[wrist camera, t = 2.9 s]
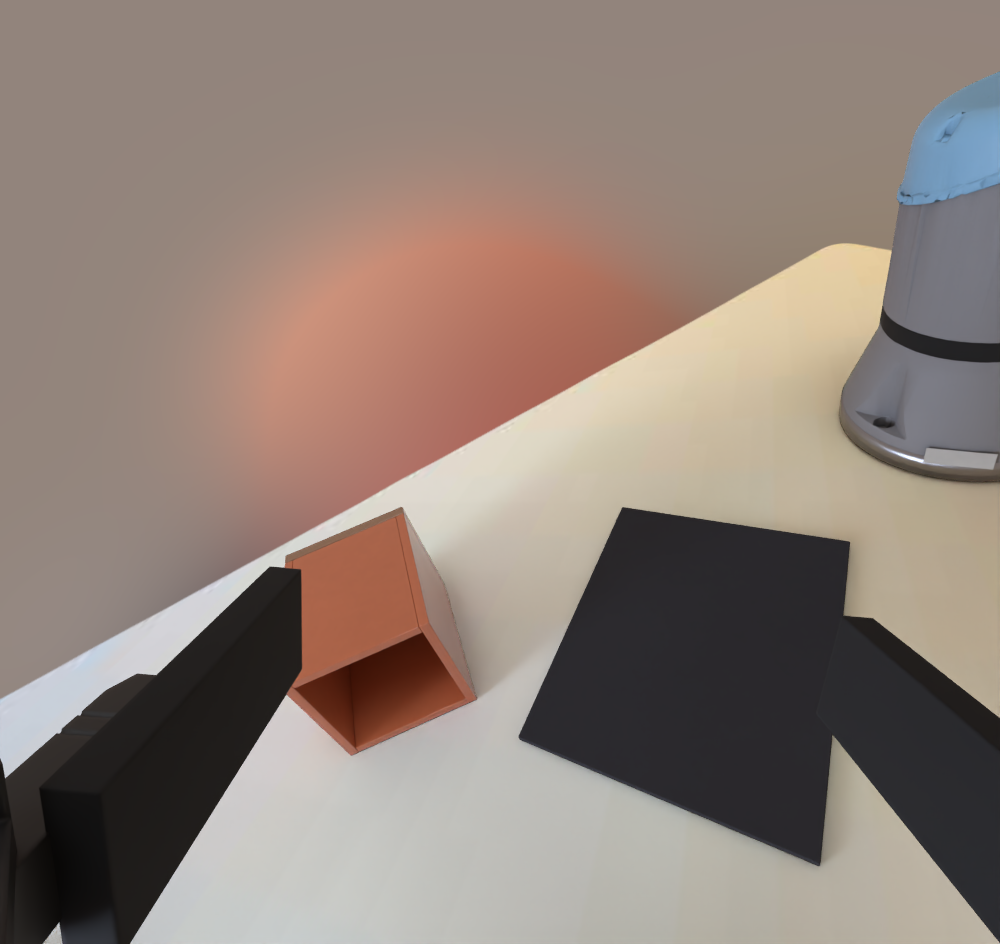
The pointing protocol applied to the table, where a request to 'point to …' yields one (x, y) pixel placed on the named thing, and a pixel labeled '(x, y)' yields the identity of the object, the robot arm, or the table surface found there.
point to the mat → (703, 672)
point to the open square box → (376, 635)
